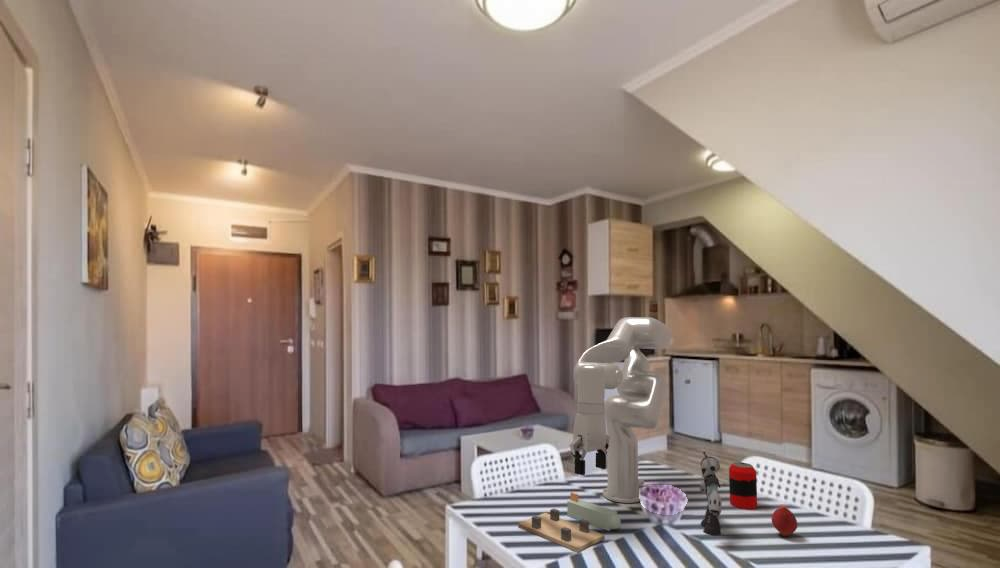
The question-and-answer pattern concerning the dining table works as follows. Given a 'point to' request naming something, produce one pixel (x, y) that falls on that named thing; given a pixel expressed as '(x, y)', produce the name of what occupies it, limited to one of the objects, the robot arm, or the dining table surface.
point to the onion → (784, 521)
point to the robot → (711, 495)
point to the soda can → (743, 485)
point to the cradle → (562, 530)
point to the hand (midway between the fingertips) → (590, 471)
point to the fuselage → (592, 513)
